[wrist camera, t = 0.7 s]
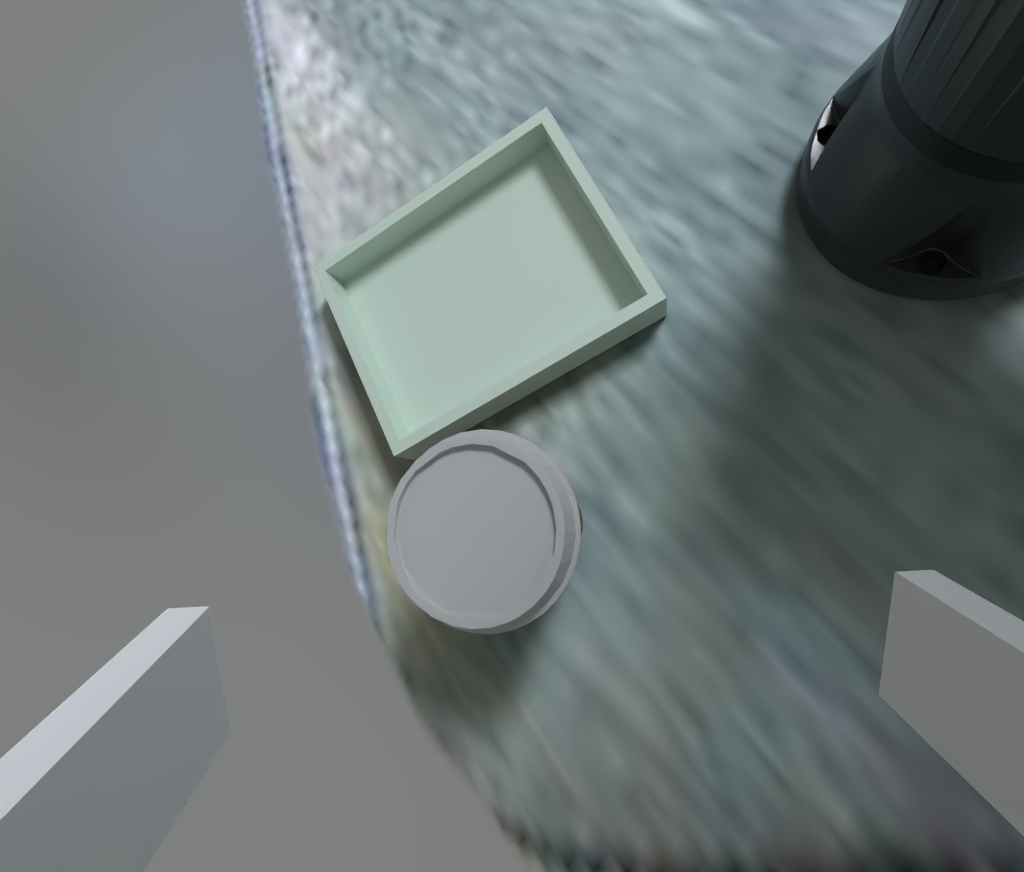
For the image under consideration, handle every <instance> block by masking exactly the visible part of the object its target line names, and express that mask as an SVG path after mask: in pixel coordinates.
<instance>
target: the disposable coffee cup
mask: <svg viewBox="0 0 1024 872" xmlns="http://www.w3.org/2000/svg"><path fill="white" fill-rule="evenodd" d="M581 533H582V516H581V511H580V508H579V506H578V503H577V501H576V498H575V495H574V493H573V490H572V488H571V485H570V484H569V482H568V480H567V478H566V477H565V475H564V473H563V472H562V470H561V469H560V467H559V466H558V465H557V464H556V463H555V462H554V461H553V460H552V459H551V457H550V456H549V455H548V454H547V453H546V452H545V451H543V450H542V449H540V448H539V447H538V446H536V445H535V444H533V443H532V442H530V441H528V440H526V439H524V438H522V437H520V436H518V435H515V434H511V433H508V432H504V431H499V430H487V429H480V430H474V431H467V432H461V433H458V434H456V435H453V436H451V437H449V438H446V439H444V440H442V441H440V442H439V443H437V444H436V445H434V446H433V447H431V448H430V449H428V450H427V451H426V452H425V453H424V454H423V455H422V456H421V457H419V458H418V459H417V460H416V461H415V462H414V463H413V465H412V466H411V467H410V468H409V470H408V471H407V472H406V473H405V475H404V476H403V477H402V478H401V480H400V482H399V484H398V486H397V488H396V490H395V493H394V495H393V497H392V499H391V503H390V507H389V512H388V516H387V549H388V553H389V557H390V561H391V566H392V568H393V570H394V572H395V575H396V577H397V579H398V581H399V583H400V585H401V586H402V588H403V589H404V591H405V592H406V594H407V595H408V596H409V597H410V598H411V600H412V601H413V602H414V603H415V604H416V605H417V606H418V607H420V608H421V609H422V610H423V611H425V612H426V613H427V614H429V615H430V616H431V617H433V618H434V619H436V620H438V621H440V622H442V623H444V624H445V625H447V626H449V627H451V628H455V629H458V630H461V631H464V632H467V633H476V634H496V633H503V632H509V631H511V630H514V629H517V628H519V627H522V626H525V625H527V624H528V623H530V622H531V621H533V620H535V619H536V618H538V617H539V616H541V615H543V614H544V613H545V612H546V611H547V610H548V609H549V608H550V607H551V606H552V605H553V604H554V603H555V602H556V601H557V599H558V598H559V596H560V595H561V594H562V592H563V591H564V589H565V588H566V586H567V584H568V582H569V580H570V578H571V576H572V574H573V572H574V569H575V567H576V563H577V559H578V554H579V549H580V543H581Z"/></svg>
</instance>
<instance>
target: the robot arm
mask: <svg viewBox="0 0 1024 872" xmlns="http://www.w3.org/2000/svg"><path fill="white" fill-rule="evenodd" d="M797 192H798V203H799V209H800V213H801V216H802V219H803V222H804V225H805V227H806V229H807V231H808V233H809V235H810V237H811V239H812V240H813V242H814V243H815V245H816V246H817V247H818V249H819V250H820V251H821V252H822V254H823V255H824V256H825V257H826V258H827V259H828V260H829V261H830V262H831V263H833V264H834V265H835V266H836V267H837V268H839V269H840V270H841V271H843V272H844V273H845V274H847V275H849V276H850V277H852V278H853V279H855V280H857V281H859V282H861V283H863V284H865V285H867V286H869V287H872V288H875V289H877V290H880V291H883V292H886V293H890V294H894V295H898V296H903V297H909V298H916V299H928V300H949V299H961V298H968V297H974V296H979V295H984V294H988V293H992V292H995V291H998V290H1001V289H1004V288H1007V287H1010V286H1012V285H1015V284H1017V283H1020V282H1022V281H1024V0H907V2H906V4H905V7H904V9H903V11H902V13H901V16H900V18H899V20H898V22H897V24H896V26H895V29H894V31H893V33H892V34H891V35H890V36H889V37H888V38H887V39H886V40H885V41H884V42H883V43H882V44H881V45H880V46H879V47H878V48H877V49H876V51H875V52H874V53H873V54H872V55H871V56H870V57H869V58H868V59H867V60H866V61H865V62H864V63H863V64H862V65H861V66H860V67H859V68H858V69H857V70H856V71H855V72H854V74H853V75H852V76H851V77H850V78H849V79H848V80H847V81H846V82H845V83H844V84H843V85H842V86H841V87H840V88H839V90H838V91H837V92H836V93H835V94H834V96H833V97H832V98H831V100H830V101H829V103H828V104H827V106H826V107H825V109H824V110H823V112H822V113H821V115H820V117H819V119H818V120H817V123H816V125H815V127H814V129H813V131H812V134H811V137H810V139H809V142H808V144H807V147H806V150H805V152H804V155H803V158H802V161H801V165H800V169H799V175H798V188H797ZM878 695H879V696H880V697H881V698H882V699H883V700H884V701H885V702H886V703H887V704H888V705H889V706H890V707H891V708H892V709H893V710H894V711H895V712H896V713H898V714H899V715H900V716H901V717H902V718H903V719H904V720H905V721H906V722H907V723H908V724H909V725H910V726H911V727H912V728H913V729H914V730H915V731H916V732H917V733H918V734H919V735H920V736H921V737H922V738H923V739H924V740H925V741H926V742H927V743H928V744H929V745H930V746H931V747H932V748H933V749H934V750H935V751H936V752H938V753H939V754H940V755H941V756H942V757H943V758H944V759H945V760H946V761H947V762H948V763H949V764H950V765H951V766H952V767H953V768H954V769H955V770H956V771H957V772H958V773H959V774H960V775H961V776H962V777H963V778H964V779H965V780H966V781H967V782H968V783H969V784H970V785H971V786H972V787H973V788H974V789H975V790H976V791H977V792H979V793H980V794H981V795H982V796H983V797H984V798H985V799H986V800H987V801H988V802H989V803H990V804H991V805H992V806H993V807H994V808H995V809H996V810H997V811H998V812H999V813H1000V814H1001V815H1002V816H1003V817H1004V818H1005V819H1006V820H1007V821H1008V822H1009V823H1010V824H1011V825H1012V826H1013V827H1014V828H1015V829H1016V830H1017V831H1019V832H1020V833H1021V834H1022V835H1023V836H1024V621H1022V620H1021V619H1019V618H1017V617H1015V616H1014V615H1012V614H1010V613H1008V612H1007V611H1005V610H1003V609H1001V608H1000V607H998V606H996V605H994V604H993V603H991V602H989V601H987V600H986V599H984V598H982V597H980V596H979V595H977V594H975V593H973V592H972V591H970V590H968V589H966V588H964V587H963V586H961V585H959V584H957V583H956V582H954V581H952V580H950V579H949V578H947V577H945V576H943V575H942V574H940V573H938V572H936V571H935V570H917V571H898V572H895V574H894V582H893V589H892V597H891V604H890V612H889V619H888V627H887V634H886V642H885V649H884V657H883V664H882V672H881V679H880V687H879V694H878ZM230 734H231V726H230V721H229V715H228V709H227V704H226V698H225V692H224V688H223V681H222V676H221V670H220V664H219V658H218V653H217V647H216V641H215V636H214V630H213V624H212V619H211V613H210V608H209V607H189V608H169V609H167V610H166V611H164V612H163V614H161V615H160V616H159V617H158V618H157V619H156V620H154V621H153V622H152V623H151V624H150V625H149V626H148V627H147V628H146V629H145V630H143V631H142V632H141V633H140V634H139V635H138V636H137V637H136V638H134V639H133V640H132V641H131V642H130V643H129V644H128V645H127V646H125V647H124V648H123V649H122V650H121V651H120V652H119V653H118V654H117V655H116V656H114V658H112V659H111V660H110V661H109V662H108V663H107V664H105V665H104V666H103V667H102V668H101V669H100V670H99V671H98V672H96V673H95V674H94V675H93V676H92V677H91V678H90V679H89V680H88V681H86V682H85V683H84V684H83V685H82V686H81V687H80V688H79V689H78V690H76V691H75V692H74V693H73V694H72V695H71V696H70V697H69V698H68V699H66V701H64V702H63V703H62V704H61V705H60V706H59V707H58V708H56V710H54V711H53V712H52V713H51V714H50V715H49V716H47V717H46V718H45V719H44V720H43V721H42V722H41V723H40V724H39V725H38V726H36V727H35V728H34V729H33V730H32V731H31V732H30V733H28V734H27V735H26V736H25V737H24V738H23V739H22V740H21V741H20V742H18V743H17V744H16V745H15V746H14V747H13V748H12V749H11V750H10V751H8V752H7V753H6V754H5V755H4V756H3V757H2V758H1V759H0V872H144V871H145V869H146V867H147V866H148V864H149V863H150V861H151V859H152V858H153V856H154V855H155V853H156V851H157V850H158V848H159V847H160V845H161V843H162V842H163V840H164V839H165V837H166V836H167V834H168V832H169V831H170V829H171V828H172V826H173V824H174V823H175V821H176V820H177V818H178V816H179V815H180V813H181V812H182V810H183V808H184V807H185V805H186V804H187V802H188V800H189V799H190V797H191V796H192V794H193V793H194V791H195V789H196V788H197V786H198V785H199V783H200V781H201V780H202V778H203V777H204V775H205V773H206V772H207V770H208V769H209V767H210V766H211V764H212V762H213V761H214V759H215V758H216V756H217V754H218V753H219V751H220V750H221V748H222V746H223V745H224V743H225V741H226V740H227V738H228V737H229V735H230Z"/></svg>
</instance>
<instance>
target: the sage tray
mask: <svg viewBox="0 0 1024 872" xmlns="http://www.w3.org/2000/svg"><path fill="white" fill-rule="evenodd" d="M313 269H314V271H315V274H316V276H317V278H318V281H319V283H320V285H321V288H322V290H323V292H324V295H325V297H326V299H327V301H328V304H329V306H330V308H331V311H332V313H333V315H334V318H335V320H336V322H337V325H338V327H339V329H340V332H341V334H342V336H343V339H344V341H345V343H346V346H347V348H348V350H349V353H350V355H351V357H352V360H353V362H354V364H355V367H356V369H357V371H358V374H359V376H360V378H361V381H362V383H363V385H364V388H365V390H366V392H367V395H368V397H369V399H370V402H371V404H372V406H373V409H374V411H375V413H376V416H377V418H378V420H379V423H380V425H381V427H382V430H383V432H384V434H385V437H386V439H387V441H388V443H389V446H390V448H391V450H392V453H393V455H394V456H395V457H400V458H405V459H410V460H416V459H418V458H419V457H421V456H422V455H423V454H424V453H425V452H426V451H427V450H428V449H430V448H431V447H433V446H434V445H436V444H437V443H439V442H440V441H442V440H444V439H446V438H449V437H451V436H453V435H456V434H458V433H461V432H465V431H466V430H468V429H470V428H472V427H473V426H475V425H477V424H479V423H480V422H482V421H484V420H486V419H487V418H489V417H491V416H493V415H494V414H496V413H498V412H500V411H501V410H503V409H505V408H506V407H508V406H510V405H512V404H513V403H515V402H517V401H519V400H520V399H522V398H524V397H526V396H527V395H529V394H531V393H533V392H534V391H536V390H538V389H540V388H541V387H543V386H545V385H546V384H548V383H550V382H552V381H553V380H555V379H557V378H559V377H560V376H562V375H564V374H566V373H567V372H569V371H571V370H573V369H574V368H576V367H578V366H580V365H581V364H583V363H585V362H587V361H588V360H590V359H592V358H593V357H595V356H597V355H599V354H600V353H602V352H604V351H606V350H607V349H609V348H611V347H613V346H614V345H616V344H618V343H620V342H621V341H623V340H625V339H627V338H628V337H630V336H632V335H633V334H635V333H637V332H639V331H640V330H642V329H644V328H646V327H647V326H649V325H651V324H653V323H654V322H656V321H658V320H660V319H661V318H663V317H665V316H667V298H666V296H665V295H664V293H663V292H662V290H661V288H660V287H659V285H658V284H657V282H656V280H655V279H654V277H653V276H652V274H651V272H650V271H649V269H648V268H647V266H646V264H645V263H644V261H643V260H642V258H641V256H640V255H639V253H638V252H637V250H636V249H635V247H634V245H633V244H632V242H631V241H630V239H629V237H628V236H627V234H626V233H625V231H624V229H623V228H622V226H621V225H620V223H619V221H618V220H617V218H616V217H615V215H614V214H613V212H612V210H611V209H610V207H609V206H608V204H607V202H606V201H605V199H604V198H603V196H602V194H601V193H600V191H599V190H598V188H597V186H596V185H595V183H594V182H593V180H592V178H591V177H590V175H589V174H588V172H587V171H586V169H585V167H584V166H583V164H582V163H581V161H580V159H579V158H578V156H577V155H576V153H575V151H574V150H573V148H572V147H571V145H570V143H569V142H568V140H567V139H566V137H565V136H564V134H563V132H562V131H561V129H560V128H559V126H558V124H557V123H556V121H555V120H554V118H553V116H552V115H551V113H550V112H549V110H548V108H547V107H546V108H544V109H543V110H541V111H540V112H538V113H537V114H536V115H534V116H533V117H531V118H530V119H528V120H527V121H525V122H524V123H523V124H521V125H520V126H518V127H517V128H515V129H514V130H512V131H511V132H509V133H508V134H507V135H505V136H504V137H502V138H501V139H499V140H498V141H496V142H495V143H493V144H492V145H491V146H489V147H488V148H486V149H485V150H483V151H482V152H480V153H479V154H478V155H476V156H475V157H473V158H472V159H470V160H469V161H467V162H466V163H464V164H463V165H462V166H460V167H459V168H457V169H456V170H454V171H453V172H451V173H450V174H448V175H447V176H446V177H444V178H443V179H441V180H440V181H438V182H437V183H435V184H434V185H433V186H431V187H430V188H428V189H427V190H425V191H424V192H422V193H421V194H419V195H418V196H417V197H415V198H414V199H412V200H411V201H409V202H408V203H406V204H405V205H403V206H402V207H401V208H399V209H398V210H396V211H395V212H393V213H392V214H390V215H389V216H388V217H386V218H385V219H383V220H382V221H380V222H379V223H377V224H376V225H374V226H373V227H372V228H370V229H369V230H367V231H366V232H364V233H363V234H361V235H360V236H359V237H357V238H356V239H354V240H353V241H351V242H350V243H348V244H347V245H345V246H344V247H343V248H341V249H340V250H338V251H337V252H335V253H334V254H332V255H331V256H329V257H328V258H327V259H325V260H324V261H322V262H321V263H319V264H318V265H316V266H315V267H314V268H313Z"/></svg>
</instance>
